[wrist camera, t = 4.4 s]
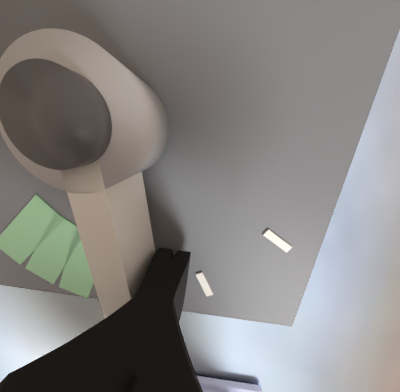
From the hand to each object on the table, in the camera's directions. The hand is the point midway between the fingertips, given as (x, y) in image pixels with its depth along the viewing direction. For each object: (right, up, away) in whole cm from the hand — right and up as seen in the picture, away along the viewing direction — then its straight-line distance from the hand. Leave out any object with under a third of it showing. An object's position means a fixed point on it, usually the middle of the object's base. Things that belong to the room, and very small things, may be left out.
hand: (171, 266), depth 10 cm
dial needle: (-2, +2, 0) cm, 3 cm away
